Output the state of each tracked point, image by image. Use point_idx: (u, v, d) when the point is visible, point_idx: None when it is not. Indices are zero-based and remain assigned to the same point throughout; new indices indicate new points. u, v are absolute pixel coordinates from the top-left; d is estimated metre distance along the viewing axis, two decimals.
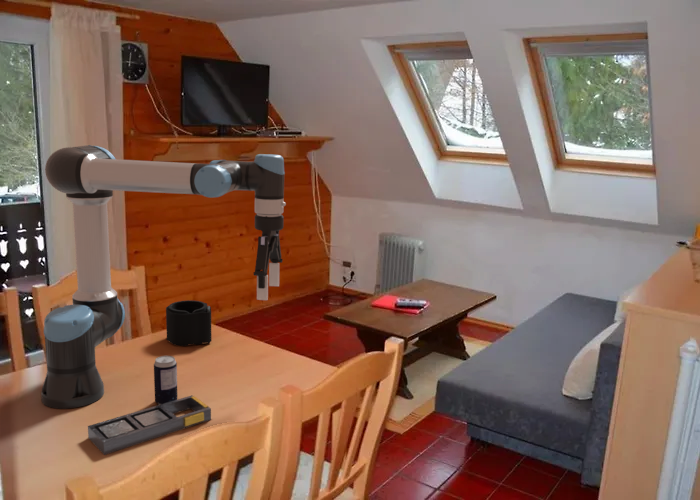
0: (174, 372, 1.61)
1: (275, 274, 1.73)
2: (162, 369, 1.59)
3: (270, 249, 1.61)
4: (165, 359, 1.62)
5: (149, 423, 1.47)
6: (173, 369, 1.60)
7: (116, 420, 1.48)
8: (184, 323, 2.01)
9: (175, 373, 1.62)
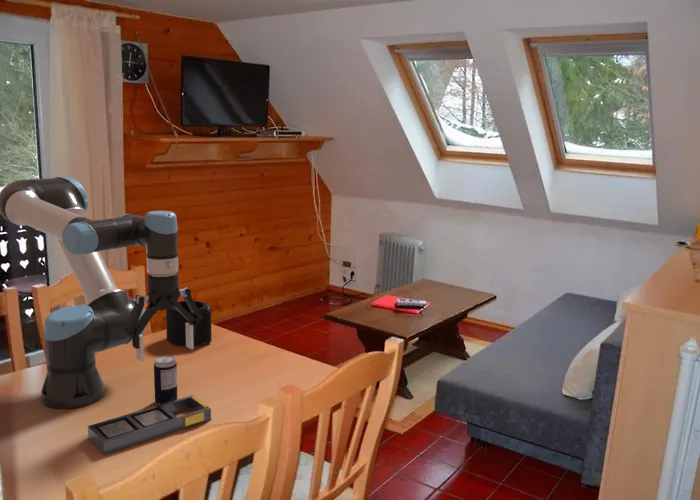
0: (174, 372, 1.61)
1: (189, 336, 1.64)
2: (162, 369, 1.59)
3: (152, 310, 1.55)
4: (165, 359, 1.61)
5: (149, 423, 1.47)
6: (173, 369, 1.60)
7: (116, 420, 1.48)
8: (184, 323, 2.01)
9: (175, 373, 1.62)
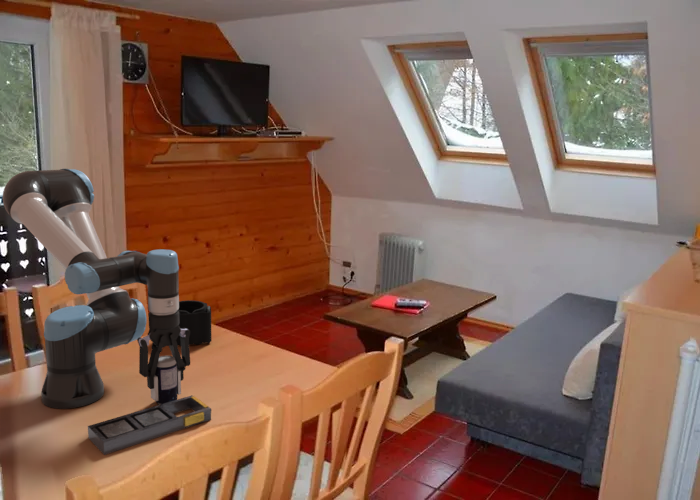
0: (174, 372, 1.61)
1: None
2: (162, 369, 1.59)
3: (156, 349, 1.58)
4: (165, 359, 1.62)
5: (149, 423, 1.47)
6: (173, 369, 1.60)
7: (116, 420, 1.48)
8: (184, 323, 2.01)
9: (175, 373, 1.62)
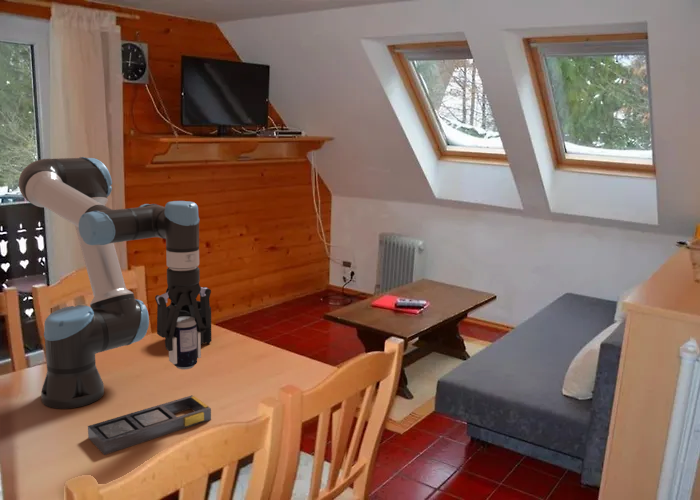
0: (194, 333, 1.50)
1: None
2: (182, 329, 1.48)
3: (175, 308, 1.47)
4: (184, 319, 1.51)
5: (149, 423, 1.47)
6: (193, 329, 1.50)
7: (116, 420, 1.48)
8: None
9: (195, 334, 1.51)
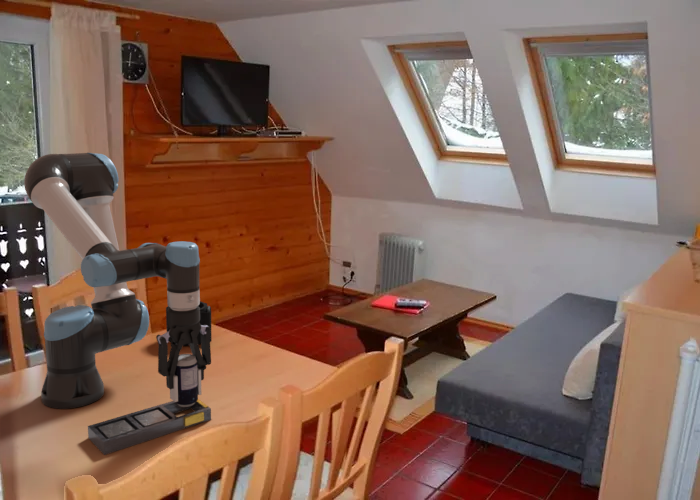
0: (194, 371, 1.52)
1: None
2: (183, 368, 1.50)
3: (176, 347, 1.49)
4: (185, 357, 1.53)
5: (149, 423, 1.47)
6: (194, 367, 1.52)
7: (116, 420, 1.48)
8: None
9: (196, 372, 1.53)
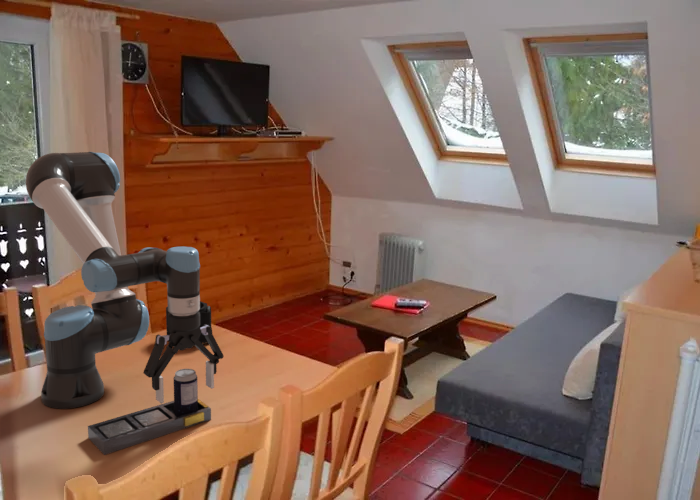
0: (194, 386, 1.53)
1: (209, 375, 1.58)
2: (183, 383, 1.51)
3: (172, 350, 1.49)
4: (185, 372, 1.54)
5: (149, 423, 1.47)
6: (194, 383, 1.53)
7: (116, 420, 1.48)
8: None
9: (196, 387, 1.54)
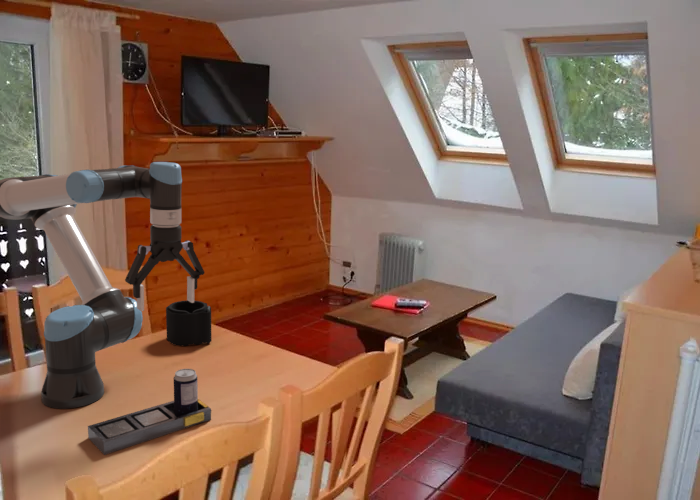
0: (194, 386, 1.53)
1: (190, 289, 1.65)
2: (183, 383, 1.51)
3: (153, 260, 1.55)
4: (185, 372, 1.54)
5: (149, 423, 1.47)
6: (194, 383, 1.53)
7: (116, 420, 1.48)
8: (184, 323, 2.01)
9: (196, 387, 1.54)
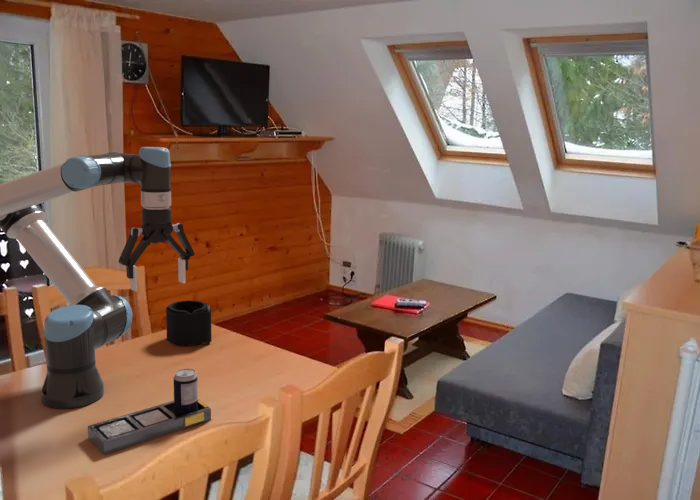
0: (194, 386, 1.53)
1: (181, 270, 1.70)
2: (183, 383, 1.51)
3: (145, 241, 1.61)
4: (185, 372, 1.54)
5: (149, 423, 1.47)
6: (194, 383, 1.53)
7: (116, 420, 1.48)
8: (184, 323, 2.01)
9: (196, 387, 1.54)
